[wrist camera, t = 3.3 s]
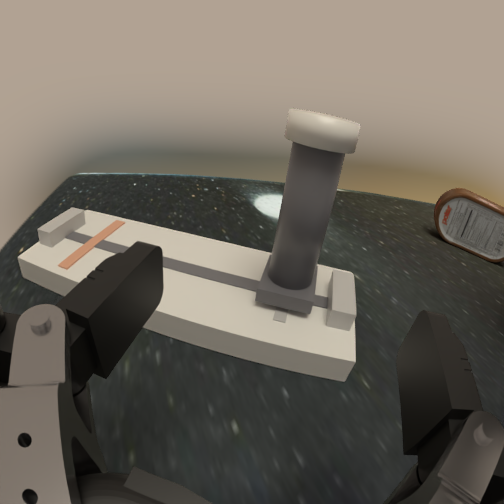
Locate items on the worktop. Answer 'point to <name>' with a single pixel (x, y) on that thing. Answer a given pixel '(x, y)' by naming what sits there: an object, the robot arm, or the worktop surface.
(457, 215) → the tin
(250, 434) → the worktop surface
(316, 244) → the fader
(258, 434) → the worktop surface
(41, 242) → the console
